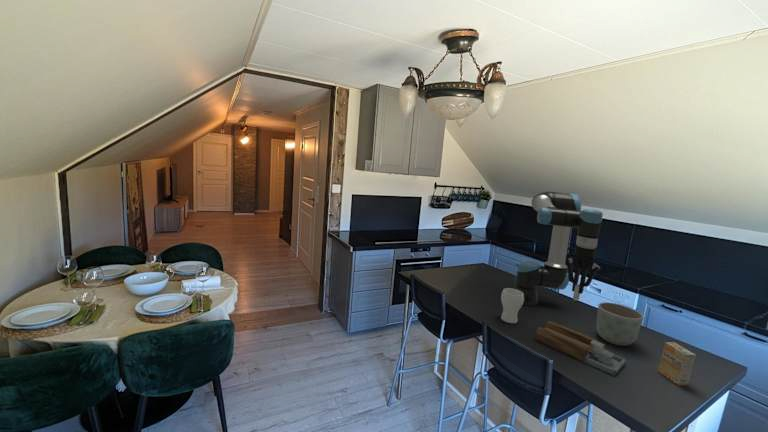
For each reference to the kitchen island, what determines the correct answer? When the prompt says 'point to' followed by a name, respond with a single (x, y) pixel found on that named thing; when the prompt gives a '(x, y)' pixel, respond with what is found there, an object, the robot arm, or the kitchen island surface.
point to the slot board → (565, 340)
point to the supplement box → (676, 363)
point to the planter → (618, 323)
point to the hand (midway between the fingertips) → (575, 299)
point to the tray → (610, 369)
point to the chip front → (606, 357)
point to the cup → (511, 304)
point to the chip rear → (595, 347)
